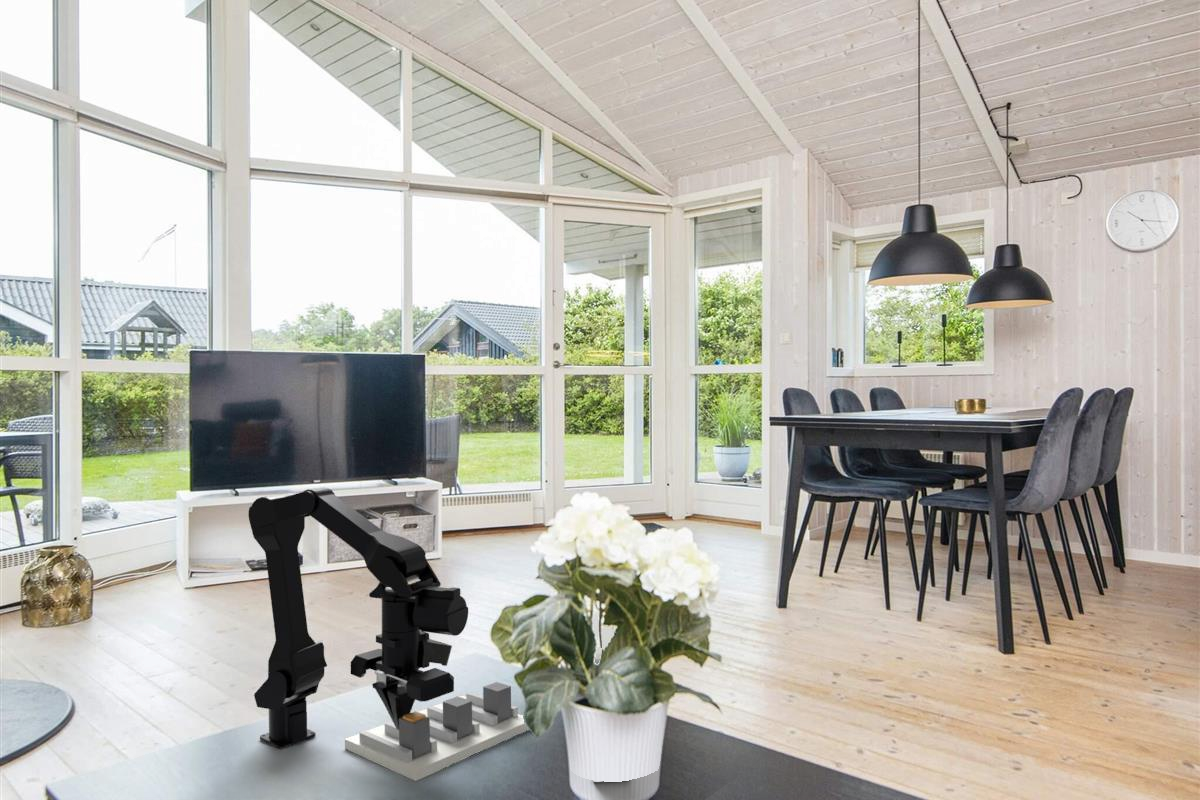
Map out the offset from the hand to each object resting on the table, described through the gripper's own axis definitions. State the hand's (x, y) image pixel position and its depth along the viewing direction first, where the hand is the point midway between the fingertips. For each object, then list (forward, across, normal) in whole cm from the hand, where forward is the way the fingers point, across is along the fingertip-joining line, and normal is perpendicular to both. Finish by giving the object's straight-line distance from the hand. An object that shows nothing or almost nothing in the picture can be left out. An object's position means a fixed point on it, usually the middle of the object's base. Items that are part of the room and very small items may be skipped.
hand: (400, 729), depth 124 cm
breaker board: (+4, +1, -8) cm, 10 cm away
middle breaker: (+2, -3, -8) cm, 9 cm away
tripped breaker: (+2, -3, 0) cm, 4 cm away
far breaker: (+2, -3, -17) cm, 17 cm away
